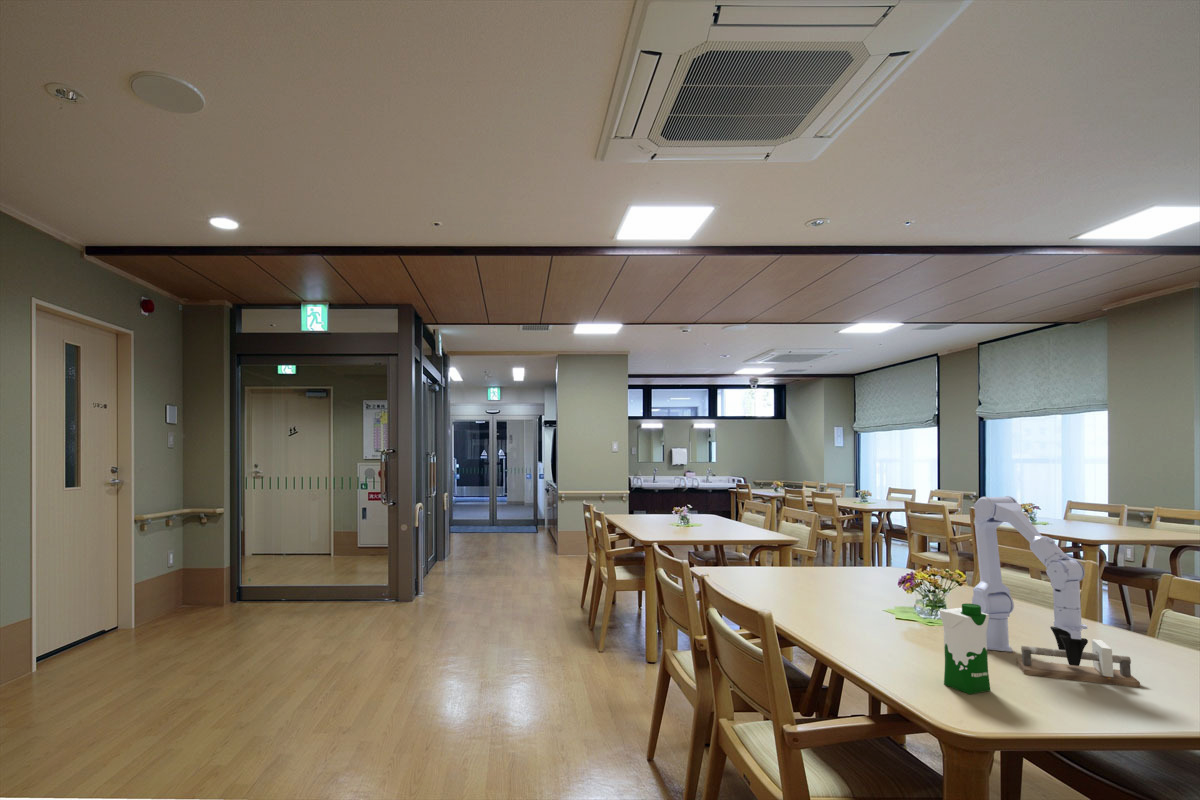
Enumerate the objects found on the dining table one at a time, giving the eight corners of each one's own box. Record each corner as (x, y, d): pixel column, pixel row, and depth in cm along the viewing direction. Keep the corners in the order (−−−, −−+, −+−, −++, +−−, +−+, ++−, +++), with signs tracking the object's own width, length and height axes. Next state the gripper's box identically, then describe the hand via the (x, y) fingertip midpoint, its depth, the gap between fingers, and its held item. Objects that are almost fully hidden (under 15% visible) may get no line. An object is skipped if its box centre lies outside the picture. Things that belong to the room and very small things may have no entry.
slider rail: (1024, 674, 167) (1023, 650, 167) (1016, 663, 175) (1015, 640, 175) (1140, 687, 157) (1138, 662, 158) (1126, 675, 166) (1125, 651, 166)
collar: (1103, 676, 161) (1101, 647, 161) (1093, 666, 168) (1091, 639, 169) (1113, 677, 160) (1111, 648, 160) (1102, 667, 167) (1101, 640, 168)
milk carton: (970, 696, 151) (966, 609, 153) (937, 683, 160) (934, 600, 161) (996, 691, 155) (993, 606, 156) (963, 679, 163) (960, 598, 164)
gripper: (1094, 614, 160) (1097, 671, 159) (1077, 602, 173) (1080, 654, 172) (1060, 611, 162) (1063, 667, 161) (1046, 599, 176) (1048, 650, 175)
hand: (1069, 660), depth 167 cm, fingers open, 7 cm apart
